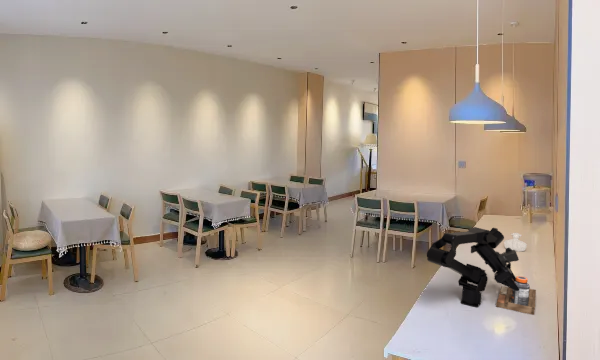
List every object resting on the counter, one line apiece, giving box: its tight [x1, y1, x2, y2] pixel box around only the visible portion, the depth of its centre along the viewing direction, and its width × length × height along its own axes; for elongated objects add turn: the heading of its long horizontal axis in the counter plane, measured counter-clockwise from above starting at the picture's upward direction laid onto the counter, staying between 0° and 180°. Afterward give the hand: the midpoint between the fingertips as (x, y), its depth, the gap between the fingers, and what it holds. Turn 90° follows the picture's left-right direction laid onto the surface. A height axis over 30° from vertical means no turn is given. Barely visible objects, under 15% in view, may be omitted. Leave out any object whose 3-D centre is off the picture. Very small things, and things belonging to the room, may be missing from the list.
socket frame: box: [495, 285, 537, 316], centre depth 162 cm, size 13×22×2 cm, turn 149°
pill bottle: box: [511, 275, 531, 306], centre depth 156 cm, size 6×6×11 cm
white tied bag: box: [503, 232, 528, 253], centre depth 236 cm, size 12×8×11 cm
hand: (517, 286), depth 156 cm, fingers open, 9 cm apart
